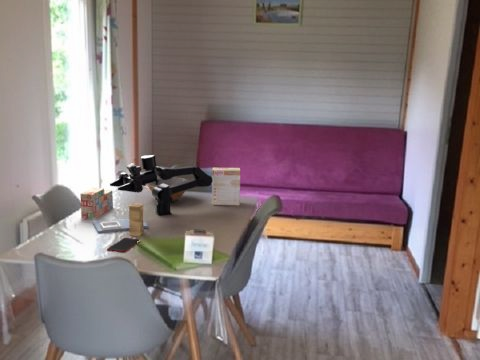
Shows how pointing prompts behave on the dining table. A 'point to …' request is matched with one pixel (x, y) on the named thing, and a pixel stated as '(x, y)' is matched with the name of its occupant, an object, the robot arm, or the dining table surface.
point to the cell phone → (123, 245)
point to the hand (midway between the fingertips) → (113, 186)
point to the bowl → (169, 182)
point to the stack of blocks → (95, 202)
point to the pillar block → (136, 219)
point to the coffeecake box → (226, 186)
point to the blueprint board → (114, 225)
